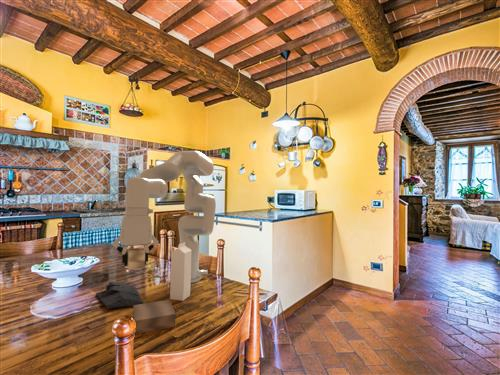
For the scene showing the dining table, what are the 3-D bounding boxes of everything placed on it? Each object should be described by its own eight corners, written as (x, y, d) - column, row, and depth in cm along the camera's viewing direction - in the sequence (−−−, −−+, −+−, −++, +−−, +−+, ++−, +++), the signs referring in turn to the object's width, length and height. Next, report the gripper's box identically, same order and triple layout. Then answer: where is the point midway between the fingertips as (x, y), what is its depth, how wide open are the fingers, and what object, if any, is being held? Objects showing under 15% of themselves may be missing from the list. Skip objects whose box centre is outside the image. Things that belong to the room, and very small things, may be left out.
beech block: (141, 264, 93) (142, 247, 93) (144, 267, 89) (145, 250, 89) (126, 266, 90) (127, 248, 90) (128, 269, 86) (129, 251, 86)
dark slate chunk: (99, 315, 90) (100, 301, 90) (95, 294, 108) (96, 282, 108) (145, 305, 98) (146, 293, 98) (135, 287, 117) (135, 277, 117)
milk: (169, 299, 104) (171, 244, 104) (177, 293, 109) (178, 241, 110) (183, 301, 102) (184, 245, 103) (190, 295, 108) (191, 242, 109)
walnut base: (169, 310, 93) (169, 299, 93) (175, 326, 82) (175, 313, 83) (133, 317, 88) (133, 305, 88) (134, 334, 77) (134, 320, 77)
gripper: (161, 211, 98) (160, 260, 97) (110, 212, 91) (108, 264, 90) (163, 213, 91) (162, 265, 90) (108, 213, 84) (106, 269, 83)
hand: (135, 264), depth 90 cm, fingers closed on beech block, 5 cm apart
